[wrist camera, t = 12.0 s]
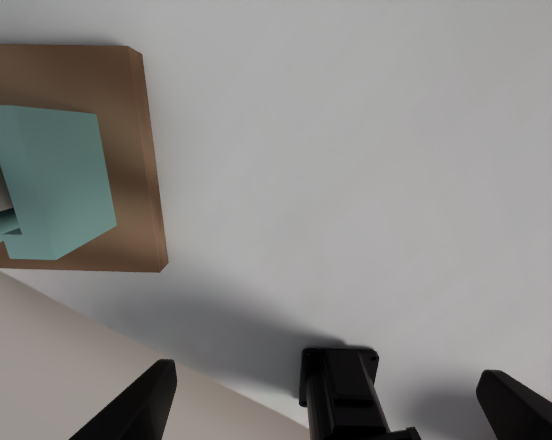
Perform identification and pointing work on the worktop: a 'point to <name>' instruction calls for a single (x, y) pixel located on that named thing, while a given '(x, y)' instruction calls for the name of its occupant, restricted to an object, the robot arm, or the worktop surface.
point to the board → (115, 141)
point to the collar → (52, 182)
